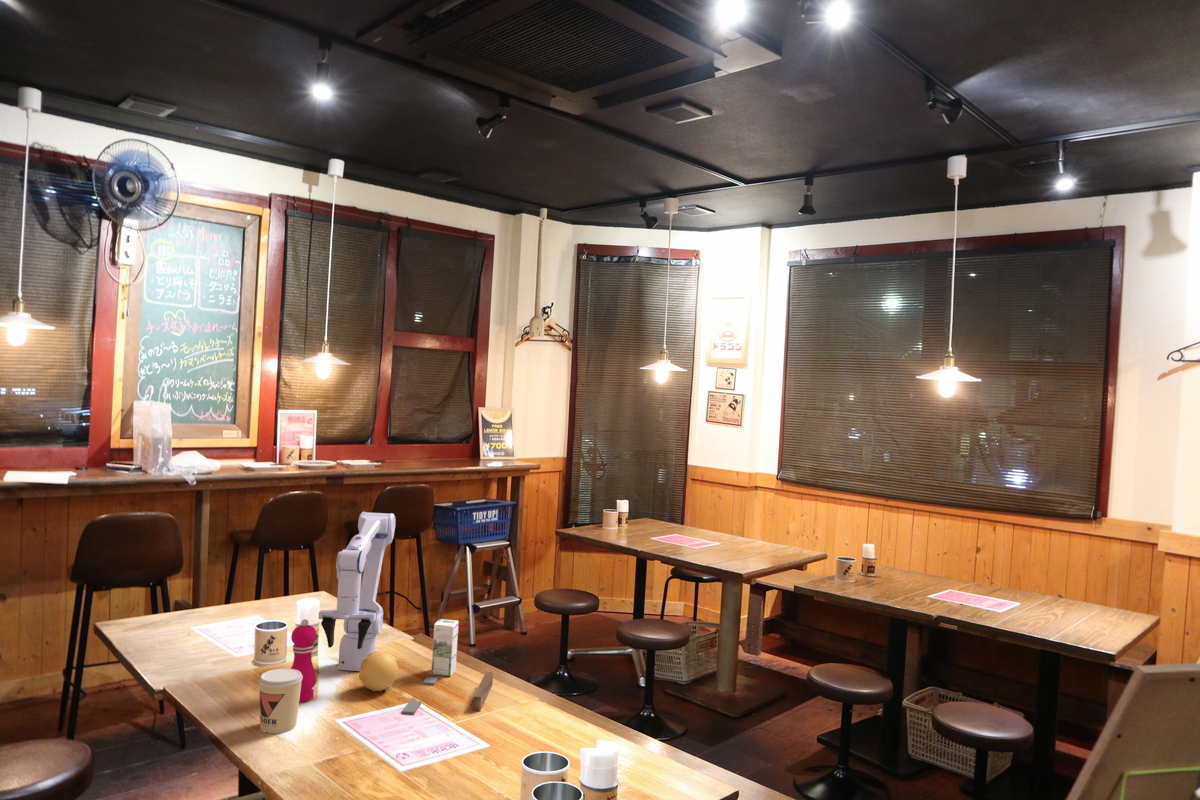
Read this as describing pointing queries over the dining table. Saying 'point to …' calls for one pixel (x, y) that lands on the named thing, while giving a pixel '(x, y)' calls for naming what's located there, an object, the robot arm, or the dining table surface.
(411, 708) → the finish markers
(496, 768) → the dining table surface
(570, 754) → the dining table surface
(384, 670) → the stress ball
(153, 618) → the dining table surface
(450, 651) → the syrup box
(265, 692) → the coffee cup
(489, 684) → the bar
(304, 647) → the pepper mill
